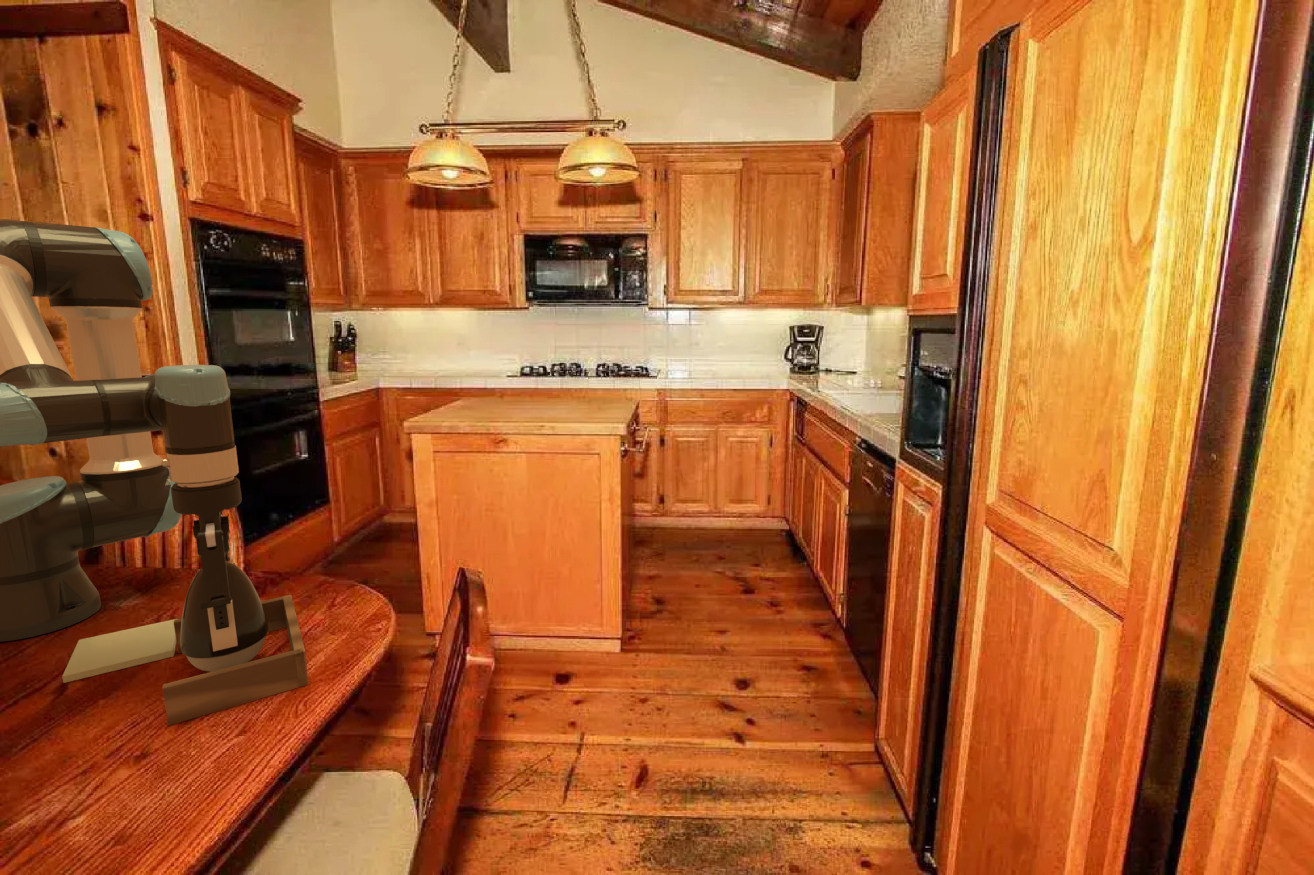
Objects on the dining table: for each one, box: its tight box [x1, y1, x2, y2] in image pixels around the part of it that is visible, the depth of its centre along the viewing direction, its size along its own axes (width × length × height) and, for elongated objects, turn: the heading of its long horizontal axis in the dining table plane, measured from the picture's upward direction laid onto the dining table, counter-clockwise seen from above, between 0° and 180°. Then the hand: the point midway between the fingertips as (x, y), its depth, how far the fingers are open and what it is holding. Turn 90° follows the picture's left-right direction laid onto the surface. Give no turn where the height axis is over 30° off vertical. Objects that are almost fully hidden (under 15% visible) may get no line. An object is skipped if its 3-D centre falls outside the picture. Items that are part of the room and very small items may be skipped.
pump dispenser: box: [180, 561, 269, 673], centre depth 85 cm, size 10×10×15 cm
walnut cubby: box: [162, 594, 310, 726], centre depth 87 cm, size 21×15×5 cm
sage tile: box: [61, 618, 177, 684], centre depth 91 cm, size 12×12×1 cm
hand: (225, 630), depth 86 cm, fingers closed on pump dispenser, 10 cm apart
